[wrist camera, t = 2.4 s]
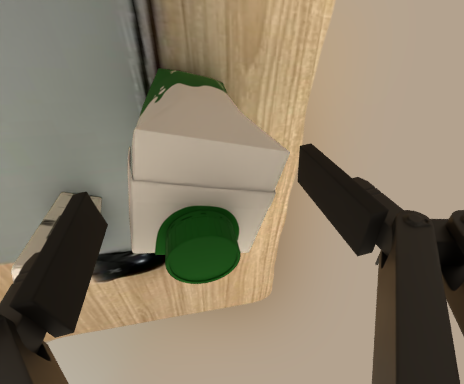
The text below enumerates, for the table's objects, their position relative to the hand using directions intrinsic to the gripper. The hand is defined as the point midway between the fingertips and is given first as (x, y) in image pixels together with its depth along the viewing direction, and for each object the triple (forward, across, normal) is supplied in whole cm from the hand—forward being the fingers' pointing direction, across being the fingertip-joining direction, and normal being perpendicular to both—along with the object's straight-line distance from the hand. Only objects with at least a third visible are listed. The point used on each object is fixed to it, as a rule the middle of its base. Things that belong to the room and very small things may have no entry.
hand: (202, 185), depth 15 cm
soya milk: (+16, 0, 0) cm, 16 cm away
